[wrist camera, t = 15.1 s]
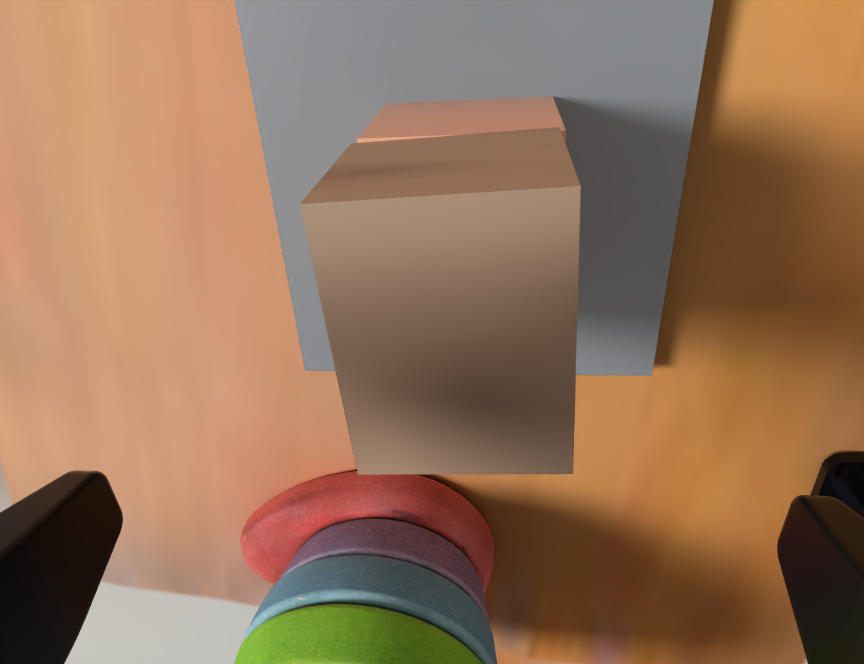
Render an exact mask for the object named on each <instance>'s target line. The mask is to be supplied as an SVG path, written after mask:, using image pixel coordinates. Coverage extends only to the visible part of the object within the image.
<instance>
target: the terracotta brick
mask: <svg viewBox="0 0 864 664" xmlns="http://www.w3.org/2000/svg"><path fill="white" fill-rule="evenodd" d="M555 127H560V130H561V133H562V135H563V138H564V141H565V143H566V129H565V127H564V124H563V122H562V119H561V116H560V114H559V111H558V109H557V106H556V104H555V101H554V99H553V96H545V97H522V98H499V99H476V100H453V101H430V102H407V103H386V104H385V106H384V107H383V108H382V109H381V110H380V112H379V113H378V114H377V115H376V116H375V118H374V119H373V120H372V121H371V122H370V123H369V125H368V126H367V127H366V128H365V129H364V131H363V132H362V133H361V134H360V135H359V137H358V138H357V143H362V142H375V141H388V140H401V139H414V138H426V137H439V136H452V135H465V134H478V133H491V132H504V131H516V130H529V129H542V128H555Z"/></svg>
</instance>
